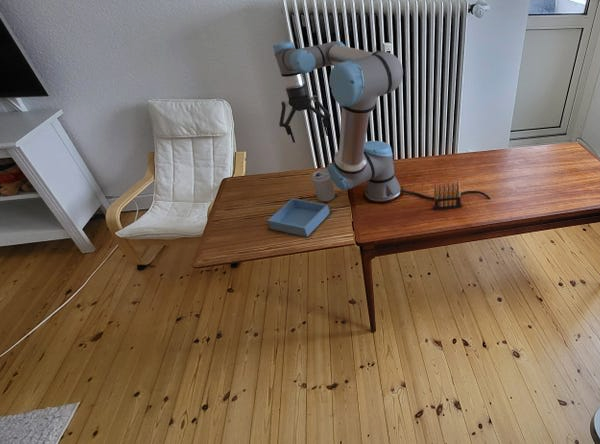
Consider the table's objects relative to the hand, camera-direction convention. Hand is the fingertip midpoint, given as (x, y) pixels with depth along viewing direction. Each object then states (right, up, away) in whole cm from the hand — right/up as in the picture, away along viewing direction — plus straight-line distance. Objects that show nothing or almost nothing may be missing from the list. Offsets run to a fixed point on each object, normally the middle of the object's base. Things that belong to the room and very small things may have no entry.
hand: (310, 138), depth 156 cm
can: (+6, -25, +4) cm, 26 cm away
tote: (-1, -35, -9) cm, 36 cm away
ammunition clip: (+58, -29, -4) cm, 65 cm away
